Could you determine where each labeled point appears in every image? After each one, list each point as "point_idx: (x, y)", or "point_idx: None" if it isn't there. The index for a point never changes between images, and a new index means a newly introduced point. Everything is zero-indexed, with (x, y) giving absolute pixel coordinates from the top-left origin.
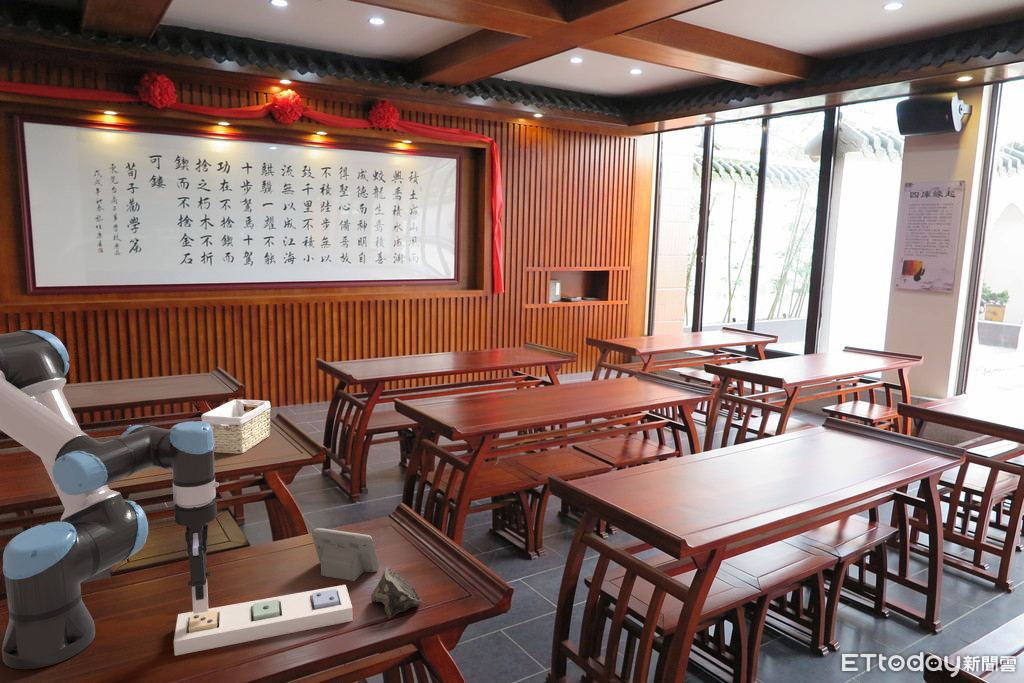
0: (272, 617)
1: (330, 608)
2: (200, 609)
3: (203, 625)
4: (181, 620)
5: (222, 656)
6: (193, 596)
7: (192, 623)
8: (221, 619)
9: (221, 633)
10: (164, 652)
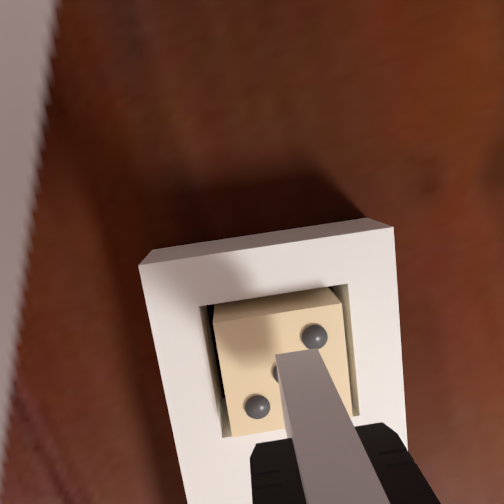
0: None
1: None
2: (282, 401)
3: (226, 385)
4: (327, 257)
5: (118, 425)
6: (293, 431)
7: (256, 330)
8: None
9: (178, 451)
10: (186, 200)
